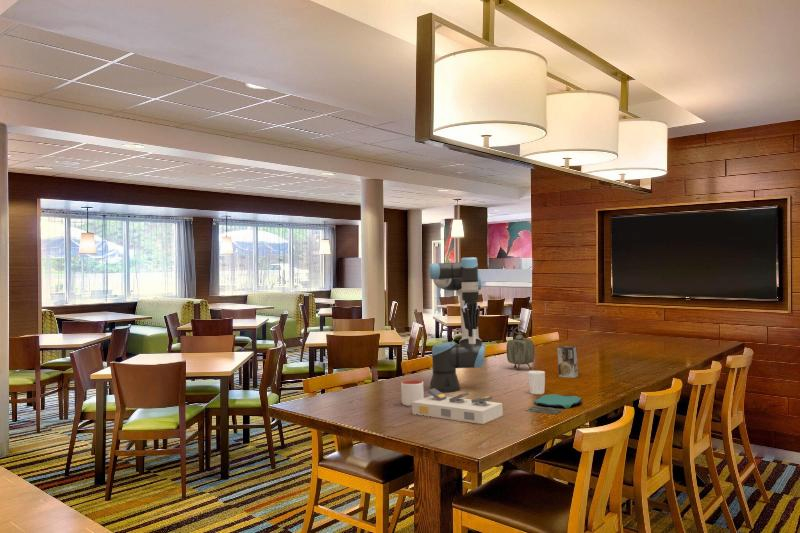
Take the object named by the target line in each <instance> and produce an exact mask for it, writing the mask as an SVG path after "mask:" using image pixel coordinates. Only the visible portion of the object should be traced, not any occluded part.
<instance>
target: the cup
mask: <svg viewBox="0 0 800 533" xmlns="http://www.w3.org/2000/svg"><path fill="white" fill-rule="evenodd" d="M400 384H401V385H400V386H401V388H400V390H401V391H400V392H401V403H402V404H403V405H404V406H405V405H406V407H412V402H414V401H417V400H420V399H423V398H425V396H424V395H425V394H424V381H423V380H415V379H414V380H412V379H411V380H403V381H401V383H400Z"/></svg>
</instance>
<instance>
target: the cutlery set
mask: <svg viewBox="0 0 800 533" xmlns="http://www.w3.org/2000/svg"><path fill="white" fill-rule="evenodd" d="M582 400H583V399H582V398H581V397H579V396H576V395H569V394H568V395H565V394H557V393H556V394H554V393H553V394H545V395H544V394H542V395H541V396H539V397H536V398H535V399H534V400H533V402H534V403H535V404H536V405H537V406H536V405H535V406H531V407H528V409H525V410H524V411H525V412H530V413H541V414H549V415H550V414H552V415H558V414H559V413H561V412H565V409H570V408H571V406H575V405H577V404H580V403H581V402H582ZM539 405H542V406H539ZM543 406H546V407H543ZM554 407H563V408H565V409H561V408H560V409H559V408H554Z"/></svg>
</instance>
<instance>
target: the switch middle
mask: <svg viewBox="0 0 800 533" xmlns="http://www.w3.org/2000/svg"><path fill="white" fill-rule="evenodd" d="M469 395H470V394H469V392H468V391H466V392H464V393H460V394H458V395H456V396H453V398H450V399H449V401H450V402H451V401H453V400H456V399H459V398H462V399H463V398H464V397H467V396H469Z"/></svg>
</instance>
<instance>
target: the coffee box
mask: <svg viewBox="0 0 800 533" xmlns="http://www.w3.org/2000/svg"><path fill="white" fill-rule="evenodd" d="M556 349H557V351H556V352H557V362H558V363H557V366H558V367H557V370H558V377H559V378H571V379H573V378H574V379H575V378H578V377H579V369H578V367H579V365H578V348H577V346H575V345H574V346H573V345H572V346H571V345H570V346H569V345H567V346H566V345H565V346H564V345H560V346H558V347H557V348H556Z"/></svg>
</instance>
